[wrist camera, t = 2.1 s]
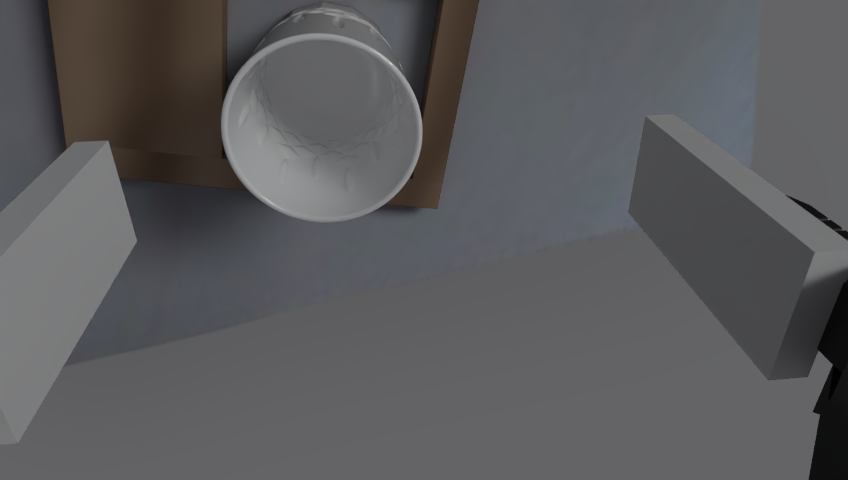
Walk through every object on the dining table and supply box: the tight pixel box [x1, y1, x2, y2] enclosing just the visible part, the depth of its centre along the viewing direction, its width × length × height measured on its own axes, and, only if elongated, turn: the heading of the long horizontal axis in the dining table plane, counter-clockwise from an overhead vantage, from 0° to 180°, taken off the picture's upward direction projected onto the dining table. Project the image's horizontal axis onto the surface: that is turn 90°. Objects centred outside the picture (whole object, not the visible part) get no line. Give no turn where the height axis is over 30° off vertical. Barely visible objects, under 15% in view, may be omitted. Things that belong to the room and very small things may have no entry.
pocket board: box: [48, 0, 479, 209], centre depth 32 cm, size 20×14×2 cm
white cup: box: [221, 2, 423, 223], centre depth 29 cm, size 8×8×10 cm
